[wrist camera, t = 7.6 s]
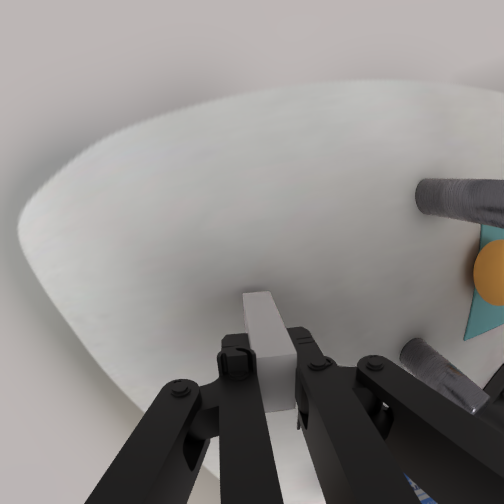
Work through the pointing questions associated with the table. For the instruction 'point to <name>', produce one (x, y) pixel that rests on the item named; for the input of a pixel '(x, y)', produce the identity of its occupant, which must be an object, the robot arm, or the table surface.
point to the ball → (490, 273)
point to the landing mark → (481, 311)
